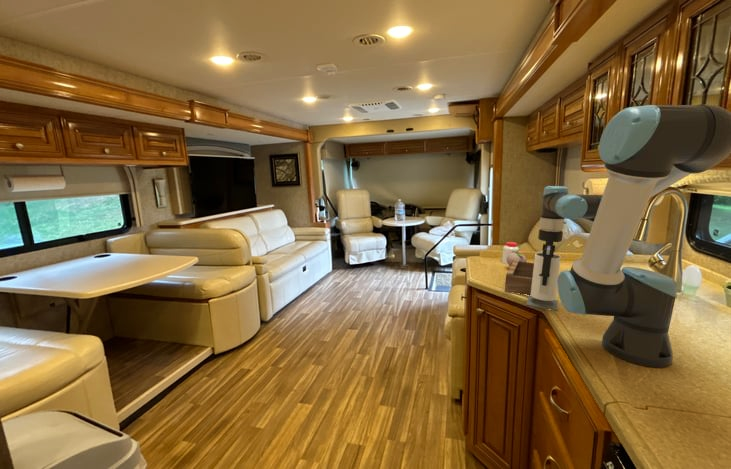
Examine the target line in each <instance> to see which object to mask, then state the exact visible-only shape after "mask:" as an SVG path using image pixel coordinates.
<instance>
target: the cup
mask: <svg viewBox="0 0 731 469" xmlns="http://www.w3.org/2000/svg"><path fill="white" fill-rule="evenodd" d="M542 254H543V251H542V252H540V251H539V252H536V253H535V254H534V262H533V263H534V269H533V278H531V279H532V286H531V296H532V297H534V298H536V299H539V300H544V301H552V300H556V296H557V291H558V276H559V274H560V267H561V258H562V257H561V255H559V254H556V253H554V254H553V258H551V265H550V273H549V274H550V276H549V285H548V293H547V294H542V293H539V287H540V279H541V276H539V274H541V273H542V266H543V258H544V257H542Z"/></svg>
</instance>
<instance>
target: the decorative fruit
mask: <svg viewBox="0 0 731 469" xmlns="http://www.w3.org/2000/svg"><path fill="white" fill-rule="evenodd" d="M514 259H519V261H522V262H528V261H527V257H526V256H525V255H524V254H523V253H521V252H519V253H518V250H517V251H512V253H510V254H509V255H508V256H507V263H508V264H509V265H508V264H507V265H508V266H510V267H511V265H512V263H513V261H514Z"/></svg>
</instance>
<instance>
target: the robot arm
mask: <svg viewBox="0 0 731 469" xmlns="http://www.w3.org/2000/svg"><path fill="white" fill-rule="evenodd" d="M598 147H599V150H598V154H599V157H600V160H602V162H604V166H603V168H604V169H605V170H606V172H607V173H608V174H609V175H608V178H607V181H606V184H605V187H604V190H603V194H575V193H573V194H571V193H569V187H567V186H563V185H561V186H560V185H548V186H545V187H544V189H543V194H542V203H541V210H540V211H541V212H540V220H539V227H538V228H539V230H538V237H537V238H538V240H540V241H543V242H545V243H543V244H542V249H541V250H542V252H543V254H542V257H544V258H543V266H542V273H541V274H539V276H541V279H540V287H539V293H542V294H547V293H548V285H549V276H550V274H549V273H550V265H551V258H553V254H555V252H556V245H554V243H560V242H562V240H563V235H564V232H563V230H564V226H565V225H566V224H567V221H565V219H567V220H578V219H594V220H593V223H592V226H591V229H590V231H589V235H588V238H587V240H586V244H585V246H584V250H583V253H582V255H581V257H580V258H578V259H576V260H574V261H572V265H571V267H570V269H569V270H568V269H565V270H562V271H559V275H558V282H557V292H558V297H559V300H560V304H561V305H562V306H563V308H564V309H565V310H566V311H567V312H569V313H571V314H578V315H582V316H585V315H587V316H588V315H590V316H593V315H594V316H603V317H604V316H605V317H613V319H612V320H611V322H610V324H609V326H608V327H607V328H606V330H605V331H604V333H603V335H602V337H601V338H602V339H601V346H602V347H603V348H604V349H605V351H607V352H608V353H610V354H612V355H613V356H614V357H617V358H619V359H621V360H623V361H626V362H630V363H632V364H636V365H639V366H644V367H650V368H666V367H669V366H670V365H671V364H672V361H673V356H674V353H673V350H672V344H671V341H670V336H669V335H670V334H669V332H670V330H669V329H670V326H671V321H672V316H673V311H674V306H675V301H676V298H677V297H678V296H677V295H678V294H677V292H678V291H677V290H678V283H677V281H676V280H675V279H673V278H672V277H670V276H668V275H665V274H663V273H660V272H656V271H653V270H650V269H644V268H640V267H636V266H623V264H624V262H625V259H626V257H627V254H628V251H629V249H630V247H631V244H632V242H633V239H634V237H635V234H636V233H637V230H638V227H639V225H640V223H641V220H642V218H643V215H644V213H645V210H646V208H647V205H648V203H649V201H650V198H652V197H654V196H655V195H658V194H659V193H661V192H662V191H665V190H666V189H667V188H670V187H671V186H673V185H674V184H676V183H678V182H679V181H681V180H683V179H685V178H686V177H689V176H691V175H693V174H695V175H697V174H702V173H704V172H706V171H708V170H710V169H712V168H714V167H715V166H717V165H718V164H720V163H721V162H723V161H724V160H725V159H727V157H728V156H730V155H731V111H730V110H727V109H726V108H723V107H721V106H718V105H715V104H684V105H683V104H681V105H680V104H678V105H676V104H673V105H672V104H666V105H665V104H664V105H663V104H657V105H656V104H655V105H654V104H652V105H651V104H646V105H640V106H639V105H637V106H631V107H629V106H628V107H626V108H624V109H622V110H620V111H619V112H617V114H615V115H614V116H612V118H611V119H610V120H609V122H608V123H607V124H606V125H605V128H604V129H603V132H602V133H601V136H600V140H599V144H598ZM622 266H623V267H622Z"/></svg>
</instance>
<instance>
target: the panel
mask: <svg viewBox="0 0 731 469" xmlns="http://www.w3.org/2000/svg"><path fill="white" fill-rule="evenodd" d="M558 302H559V300H556V299H555V300H552V301H544V300H539V299H536V298H534V297H532V296H530V295H529V296H527V300H526V304H525V306H526V307H530V308H531V307H532V308H536V309H543V310H546V309H551V310H555V311H554V312H556V311H557V312H558ZM551 310H550V311H551Z"/></svg>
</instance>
